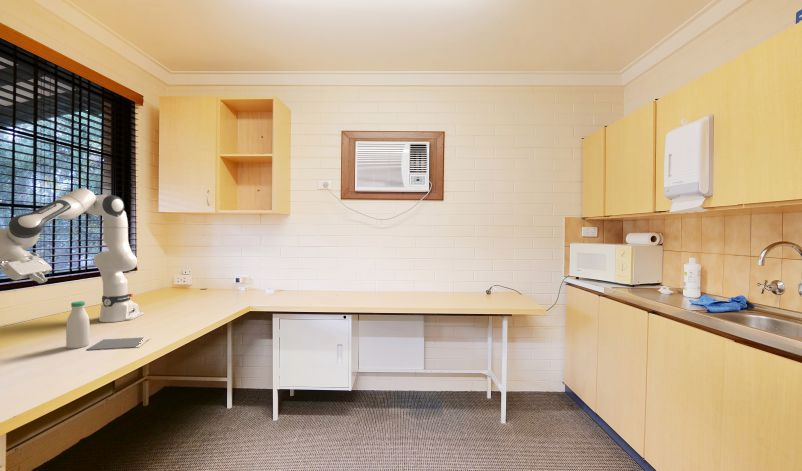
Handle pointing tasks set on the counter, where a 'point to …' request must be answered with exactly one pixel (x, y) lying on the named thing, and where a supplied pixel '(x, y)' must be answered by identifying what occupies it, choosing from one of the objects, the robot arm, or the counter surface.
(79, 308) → the milk bottle
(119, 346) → the mat
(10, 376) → the counter surface
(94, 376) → the counter surface
